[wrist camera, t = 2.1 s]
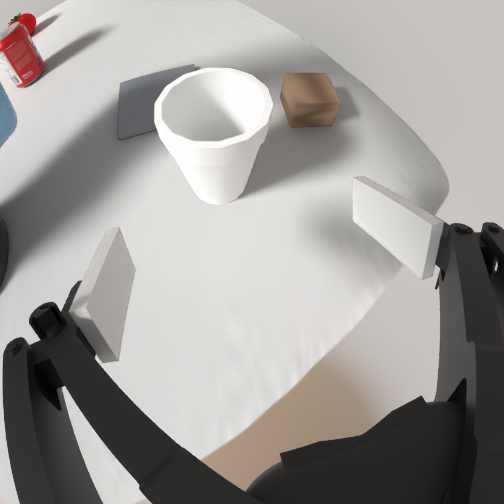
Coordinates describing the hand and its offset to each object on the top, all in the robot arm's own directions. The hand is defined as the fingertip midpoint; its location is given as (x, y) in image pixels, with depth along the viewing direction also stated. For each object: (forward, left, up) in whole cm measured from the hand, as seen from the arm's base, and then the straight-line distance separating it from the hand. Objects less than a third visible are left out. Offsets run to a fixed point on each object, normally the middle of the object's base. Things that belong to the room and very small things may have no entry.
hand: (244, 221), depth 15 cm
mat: (-15, +24, -15) cm, 32 cm away
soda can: (-50, +36, -16) cm, 63 cm away
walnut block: (+6, +24, -15) cm, 29 cm away
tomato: (-73, +61, -16) cm, 96 cm away
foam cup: (-4, +11, -16) cm, 19 cm away
